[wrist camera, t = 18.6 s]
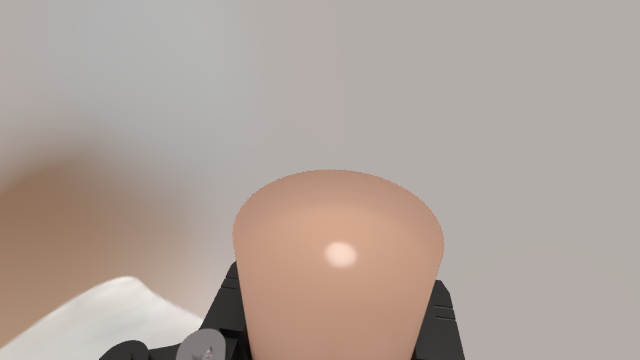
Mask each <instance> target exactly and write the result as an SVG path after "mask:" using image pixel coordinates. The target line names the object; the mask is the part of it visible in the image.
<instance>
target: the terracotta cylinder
mask: <svg viewBox="0 0 640 360" xmlns="http://www.w3.org/2000/svg"><path fill="white" fill-rule="evenodd" d="M233 244H234V250H235V256H236V263H237V269H238V275H239V281H240V288H241V294H242V300H243V306H244V312H245V319H246V325H247V331H248V337H249V343H250V349H251V356H252V360H411V357H412V354H413V351H414V347H415V344H416V341H417V338H418V334H419V331H420V328H421V325H422V322H423V318H424V315H425V312H426V309H427V305H428V302H429V299H430V296H431V293H432V289H433V286H434V283H435V280H436V276H437V273H438V270H439V267H440V263H441V260H442V257H443V251H444V238H443V234H442V230H441V227H440V225H439V223H438V221H437V219H436V217H435V216H434V214H433V213H432V211H431V210H430V209H429V208H428V207H427V206H426V205H425V203H424V202H422V201H421V200H420V199H419V198H418V197H416V196H415V195H414V194H412V193H411V192H409V191H408V190H406V189H404V188H403V187H401V186H399V185H397V184H395V183H393V182H391V181H388V180H385V179H383V178H380V177H377V176H373V175H370V174H365V173H361V172H354V171H346V170H315V171H307V172H302V173H297V174H293V175H290V176H286V177H284V178H281V179H278V180H276V181H274V182H272V183H270V184H268V185H266V186H264V187H263V188H261V189H260V190H259V191H257V192H256V193H254V194H253V195H252V196H251V197H250V198H249V199H248V200H247V201H246V202H245V204H244V205H243V206H242V207H241V209H240V211H239V213H238V215H237V217H236V219H235V222H234V227H233Z"/></svg>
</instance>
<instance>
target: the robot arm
mask: <svg viewBox="0 0 640 360" xmlns="http://www.w3.org/2000/svg"><path fill="white" fill-rule="evenodd" d="M99 360H252V356H251V349H250V343H249V337H248V331H247V325H246V319H245V312H244V306H243V300H242V294H241V288H240V281H239V275H238V269H237V263H236V261H235V262H234V263H233V264H232V265H231V267H230V269H229V271H228V273H227V275H226V278H225V279H224V281H223V283H222V285H221V288H220V289H219V291H218V293H217V295H216V297H215V299H214V301H213V303H212V305H211V307H210V309H209V311H208V313H207V315H206V317H205V319H204V321H203V323H202V325H201V327H200V328H199V330H198V331H196V332H194V333H192V334H190V335H189V336H188V337H187V338H186V339H185V340H184V341H183V342H182V343H180V344H177V345H173V346H168V347H162V348H156V349H151V350H148V348H147V346H146V345H145V344H144V343H142V342H140V341H136V340H130V341H125V342H122V343H120V344H117V345H116V346H114V347H112V348H111V349H110V350H108V351H107V352H106V353H105V354H104V355H103V356H102V357H101V358H100V359H99ZM411 360H465V357H464V354H463V349H462V344H461V340H460V336H459V331H458V327H457V323H456V321H455V314H454V310H453V306H452V302H451V297H450V293H449V292H448V290H447V289H446V287H445V286H444V284H443V283H442V281H440V280H435V283H434V286H433V289H432V293H431V296H430V299H429V302H428V305H427V309H426V312H425V315H424V318H423V322H422V325H421V328H420V331H419V334H418V338H417V341H416V344H415V347H414V351H413V354H412V357H411Z"/></svg>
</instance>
